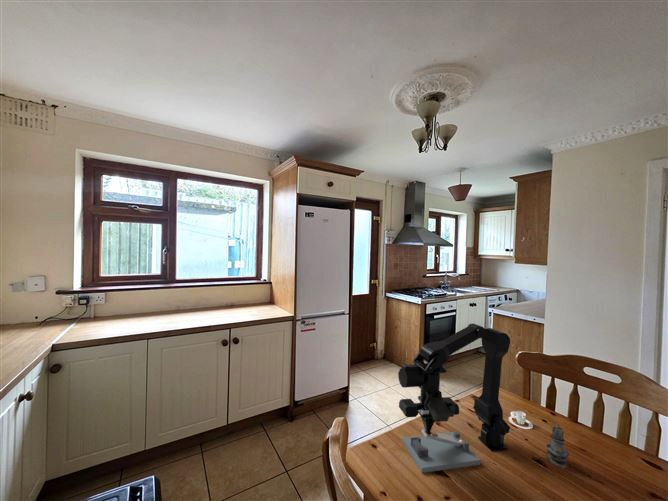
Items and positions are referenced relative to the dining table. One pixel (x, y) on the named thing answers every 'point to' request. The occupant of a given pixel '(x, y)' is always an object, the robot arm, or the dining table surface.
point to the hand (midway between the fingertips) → (427, 432)
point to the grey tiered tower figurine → (557, 448)
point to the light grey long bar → (443, 437)
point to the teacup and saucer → (520, 419)
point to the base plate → (439, 453)
